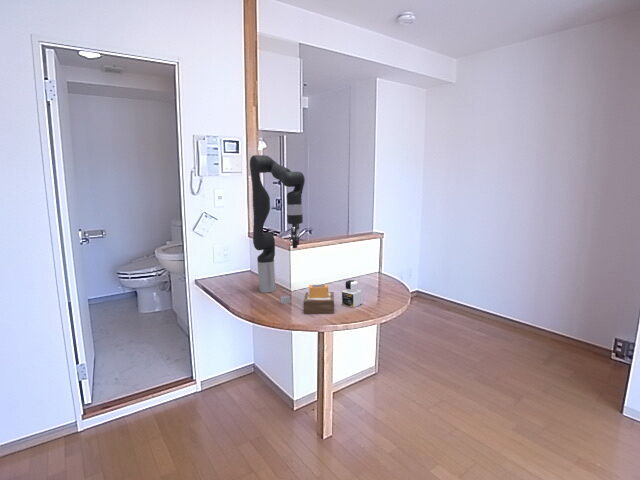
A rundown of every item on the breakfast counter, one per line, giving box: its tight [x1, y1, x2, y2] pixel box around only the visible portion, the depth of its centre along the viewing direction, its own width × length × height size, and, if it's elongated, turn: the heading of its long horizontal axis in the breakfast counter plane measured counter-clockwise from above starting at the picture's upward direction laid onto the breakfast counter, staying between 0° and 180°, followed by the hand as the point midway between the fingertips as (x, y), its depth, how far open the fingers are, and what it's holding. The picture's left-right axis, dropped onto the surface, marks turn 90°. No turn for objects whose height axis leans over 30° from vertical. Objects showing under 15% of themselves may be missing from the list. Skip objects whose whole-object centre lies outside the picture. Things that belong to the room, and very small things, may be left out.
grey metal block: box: [280, 295, 291, 305], centre depth 192 cm, size 4×4×3 cm
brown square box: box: [303, 291, 335, 315], centre depth 181 cm, size 14×14×6 cm
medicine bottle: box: [341, 279, 363, 308], centre depth 185 cm, size 7×7×12 cm
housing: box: [308, 283, 329, 298], centre depth 180 cm, size 9×5×5 cm, turn 91°
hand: (295, 246), depth 184 cm, fingers open, 8 cm apart
